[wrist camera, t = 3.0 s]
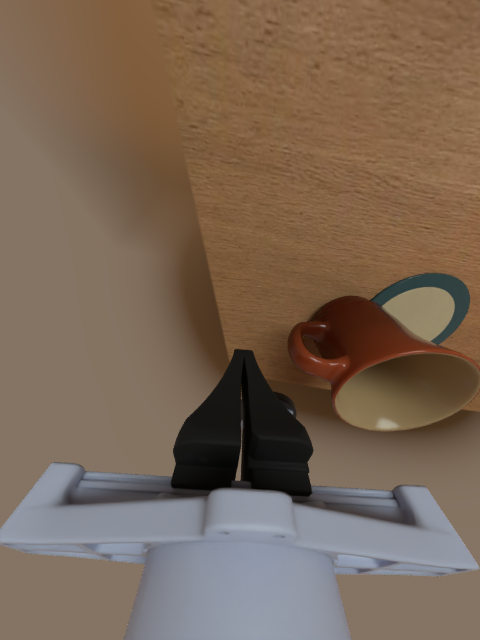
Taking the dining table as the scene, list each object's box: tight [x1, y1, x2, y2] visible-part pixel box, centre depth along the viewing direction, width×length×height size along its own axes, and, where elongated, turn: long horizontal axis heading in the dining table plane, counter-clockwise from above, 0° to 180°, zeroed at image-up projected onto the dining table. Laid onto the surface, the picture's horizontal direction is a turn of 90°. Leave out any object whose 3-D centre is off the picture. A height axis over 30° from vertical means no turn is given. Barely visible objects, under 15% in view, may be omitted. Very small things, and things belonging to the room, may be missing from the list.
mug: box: [288, 296, 480, 431], centre depth 16 cm, size 12×9×10 cm
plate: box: [371, 273, 470, 345], centre depth 21 cm, size 12×12×1 cm
